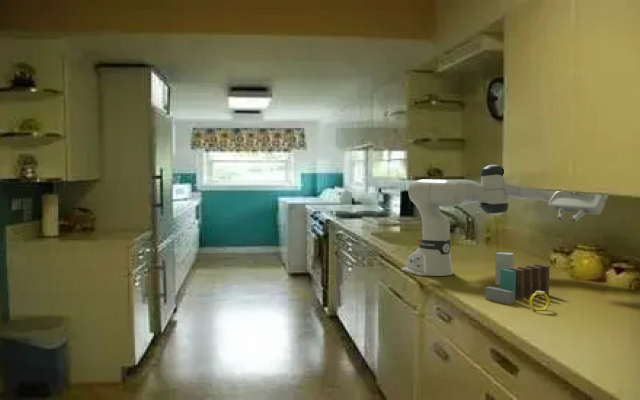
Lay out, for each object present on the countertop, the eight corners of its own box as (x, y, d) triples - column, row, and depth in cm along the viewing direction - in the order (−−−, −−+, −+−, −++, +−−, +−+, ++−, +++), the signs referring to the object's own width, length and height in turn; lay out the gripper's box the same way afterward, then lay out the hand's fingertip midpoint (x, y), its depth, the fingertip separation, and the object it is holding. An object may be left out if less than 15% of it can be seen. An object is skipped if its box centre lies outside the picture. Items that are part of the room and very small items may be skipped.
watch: (545, 309, 197) (547, 291, 197) (550, 311, 194) (551, 292, 194) (527, 308, 196) (529, 290, 196) (531, 310, 193) (533, 291, 193)
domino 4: (537, 296, 215) (538, 267, 214) (525, 294, 219) (526, 265, 218) (540, 296, 216) (541, 267, 215) (528, 293, 220) (529, 265, 219)
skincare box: (513, 284, 236) (514, 253, 235) (511, 286, 233) (511, 254, 232) (497, 283, 239) (498, 251, 239) (494, 285, 236) (495, 253, 235)
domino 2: (520, 300, 210) (521, 270, 209) (508, 297, 214) (509, 268, 213) (523, 299, 210) (524, 269, 210) (511, 296, 215) (512, 267, 214)
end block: (485, 299, 211) (485, 287, 210) (490, 298, 212) (490, 286, 212) (509, 304, 202) (509, 292, 202) (514, 303, 204) (514, 291, 204)
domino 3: (529, 298, 212) (530, 269, 211) (517, 295, 216) (517, 267, 216) (532, 297, 213) (533, 268, 212) (520, 295, 217) (520, 266, 217)
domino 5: (545, 295, 217) (546, 266, 217) (533, 292, 221) (534, 264, 221) (548, 294, 218) (549, 266, 217) (536, 292, 222) (537, 264, 222)
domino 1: (512, 301, 207) (512, 271, 206) (499, 298, 211) (500, 269, 210) (515, 301, 208) (515, 271, 207) (503, 298, 212) (503, 269, 211)
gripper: (613, 199, 224) (596, 227, 219) (562, 196, 241) (546, 223, 236) (606, 186, 221) (589, 215, 216) (555, 185, 238) (539, 211, 233)
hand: (566, 219), depth 226 cm, fingers open, 5 cm apart
